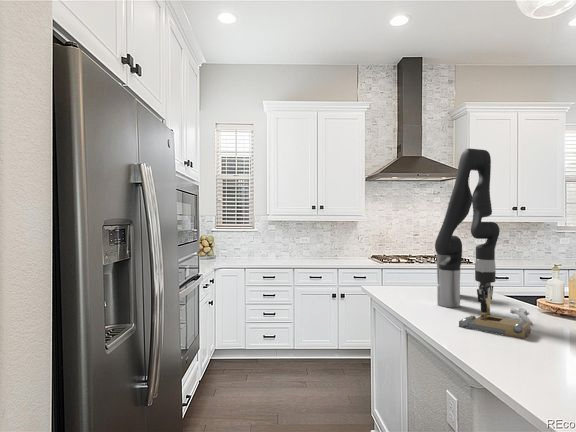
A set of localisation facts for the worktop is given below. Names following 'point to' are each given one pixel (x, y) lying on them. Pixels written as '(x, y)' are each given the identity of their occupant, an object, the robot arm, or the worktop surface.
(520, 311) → the adjustable wrench
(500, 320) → the brass frame with rod
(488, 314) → the pin
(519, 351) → the worktop surface
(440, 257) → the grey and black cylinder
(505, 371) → the worktop surface
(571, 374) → the worktop surface
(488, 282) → the robot arm
